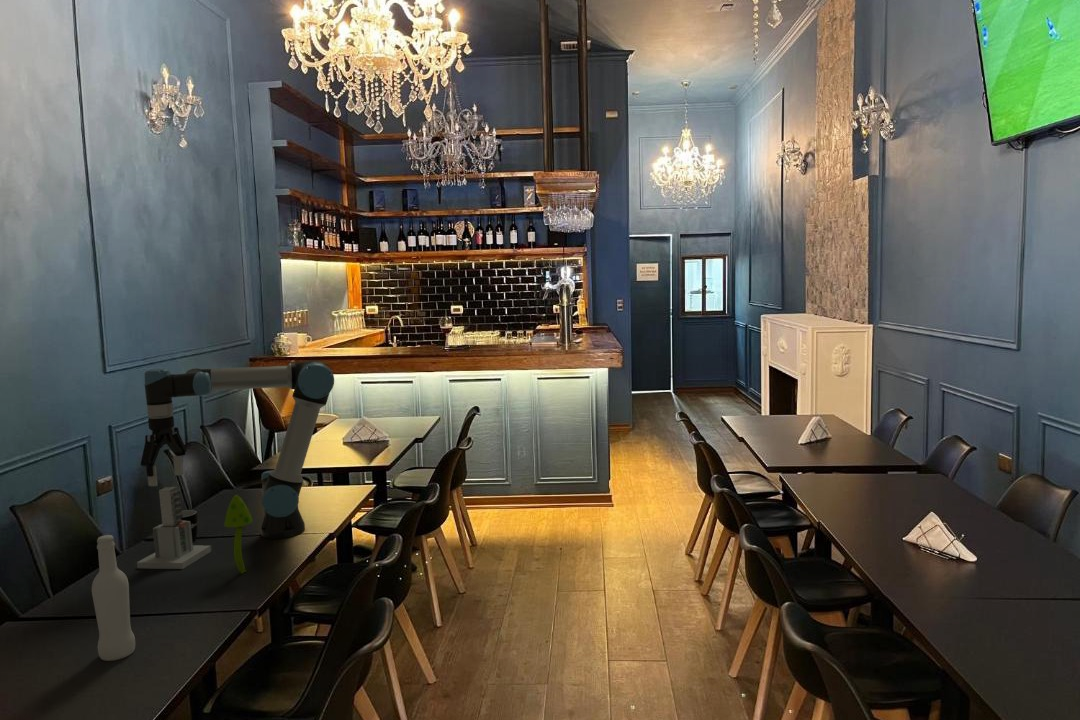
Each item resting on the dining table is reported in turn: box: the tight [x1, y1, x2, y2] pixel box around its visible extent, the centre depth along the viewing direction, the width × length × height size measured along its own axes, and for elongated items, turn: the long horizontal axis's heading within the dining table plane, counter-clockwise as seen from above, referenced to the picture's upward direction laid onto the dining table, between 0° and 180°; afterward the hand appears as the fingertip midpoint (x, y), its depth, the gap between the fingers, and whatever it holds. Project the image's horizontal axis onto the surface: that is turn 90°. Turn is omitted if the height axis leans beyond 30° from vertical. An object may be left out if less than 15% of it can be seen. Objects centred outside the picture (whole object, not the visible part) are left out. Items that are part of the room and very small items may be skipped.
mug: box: [180, 509, 198, 543], centre depth 276 cm, size 12×9×10 cm
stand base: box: [136, 521, 212, 570], centre depth 256 cm, size 16×16×13 cm
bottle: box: [91, 534, 136, 662], centre depth 189 cm, size 8×8×30 cm
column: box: [158, 486, 185, 552], centre depth 255 cm, size 5×4×22 cm
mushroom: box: [223, 494, 254, 574], centre depth 241 cm, size 8×8×25 cm
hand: (166, 480), depth 254 cm, fingers open, 13 cm apart
